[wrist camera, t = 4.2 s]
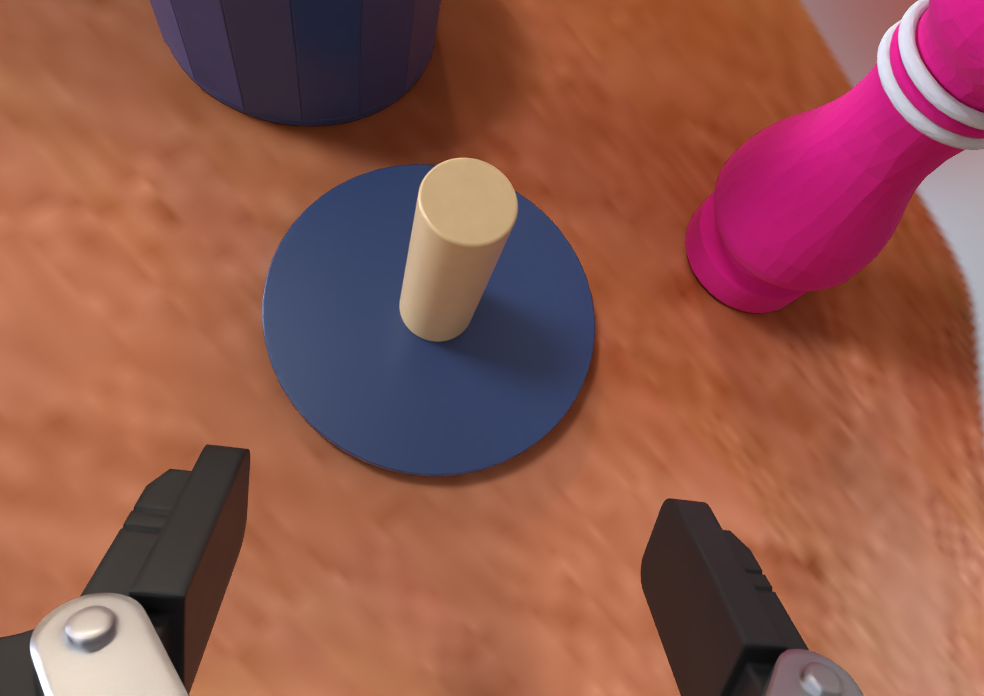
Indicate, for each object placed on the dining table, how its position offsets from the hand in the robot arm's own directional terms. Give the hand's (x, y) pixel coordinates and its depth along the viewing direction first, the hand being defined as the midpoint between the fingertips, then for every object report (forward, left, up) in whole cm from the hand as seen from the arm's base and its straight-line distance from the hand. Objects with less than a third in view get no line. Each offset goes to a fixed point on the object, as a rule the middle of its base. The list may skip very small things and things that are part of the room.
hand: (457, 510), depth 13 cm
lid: (+9, +4, -13) cm, 16 cm away
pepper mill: (+20, -7, -14) cm, 25 cm away
